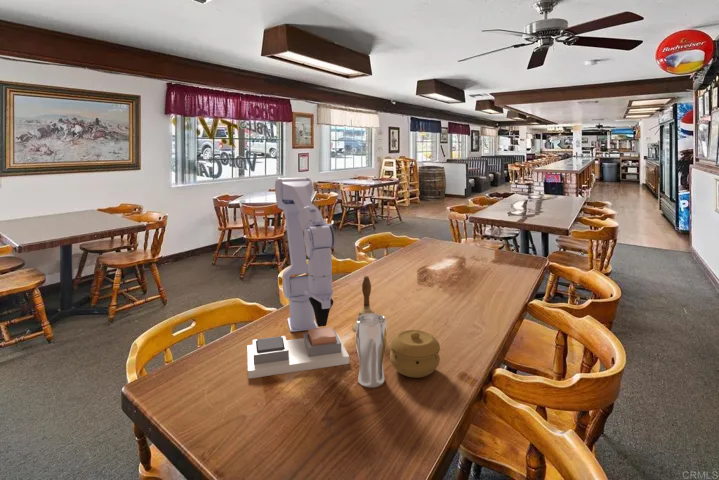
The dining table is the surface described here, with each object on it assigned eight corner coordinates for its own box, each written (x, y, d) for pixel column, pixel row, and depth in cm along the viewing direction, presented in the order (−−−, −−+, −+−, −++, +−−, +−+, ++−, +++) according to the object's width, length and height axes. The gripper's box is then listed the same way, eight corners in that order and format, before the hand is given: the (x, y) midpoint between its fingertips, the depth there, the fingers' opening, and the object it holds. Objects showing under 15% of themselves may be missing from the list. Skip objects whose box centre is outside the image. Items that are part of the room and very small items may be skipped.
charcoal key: (257, 350, 103) (257, 339, 102) (281, 347, 105) (281, 336, 104) (258, 361, 97) (257, 350, 97) (284, 358, 99) (283, 346, 98)
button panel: (247, 352, 106) (246, 336, 105) (337, 340, 112) (337, 325, 111) (248, 378, 94) (247, 360, 93) (349, 363, 100) (349, 346, 99)
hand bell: (385, 331, 118) (385, 278, 114) (358, 336, 115) (358, 282, 111) (373, 320, 125) (374, 271, 122) (348, 324, 122) (347, 274, 119)
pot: (391, 384, 91) (391, 343, 89) (387, 358, 103) (388, 321, 100) (443, 384, 91) (445, 343, 89) (434, 358, 102) (435, 321, 100)
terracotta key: (308, 339, 106) (308, 329, 105) (331, 337, 108) (330, 326, 107) (312, 350, 100) (312, 339, 100) (336, 347, 102) (335, 336, 101)
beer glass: (384, 371, 96) (385, 312, 93) (387, 388, 90) (388, 325, 86) (355, 372, 96) (355, 313, 93) (356, 389, 89) (355, 326, 86)
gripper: (300, 267, 106) (301, 316, 109) (308, 284, 92) (310, 339, 95) (326, 265, 108) (327, 313, 111) (338, 281, 94) (339, 336, 97)
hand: (321, 325), depth 103 cm, fingers closed
